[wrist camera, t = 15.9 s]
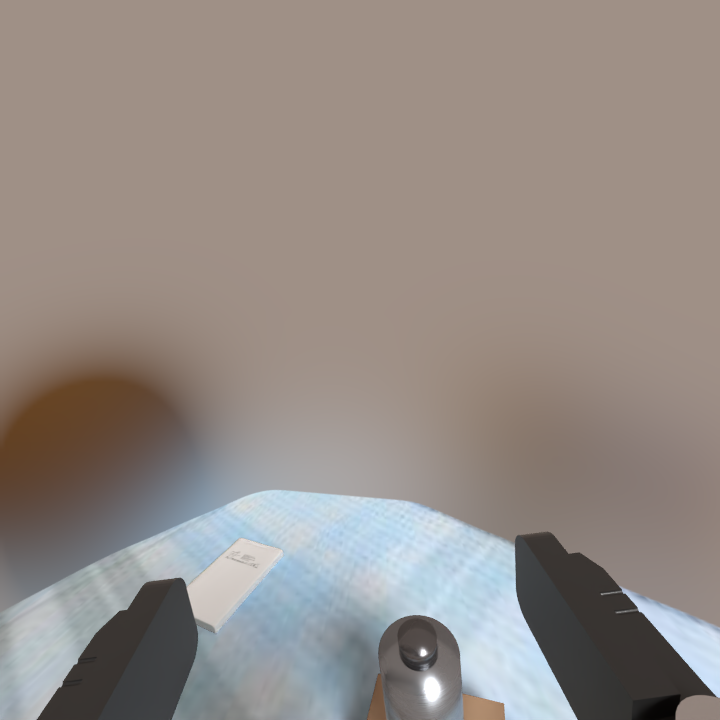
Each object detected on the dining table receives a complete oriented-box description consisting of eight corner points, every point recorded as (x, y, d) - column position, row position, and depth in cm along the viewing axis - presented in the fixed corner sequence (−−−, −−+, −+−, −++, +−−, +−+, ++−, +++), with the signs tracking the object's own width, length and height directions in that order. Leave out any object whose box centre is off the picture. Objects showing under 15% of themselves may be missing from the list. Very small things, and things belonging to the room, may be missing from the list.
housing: (371, 814, 24) (351, 677, 21) (393, 703, 30) (379, 585, 27) (477, 852, 22) (469, 707, 19) (479, 725, 28) (472, 600, 25)
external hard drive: (168, 615, 46) (240, 545, 56) (216, 638, 42) (284, 558, 53) (165, 604, 45) (238, 536, 56) (213, 626, 42) (282, 548, 52)
